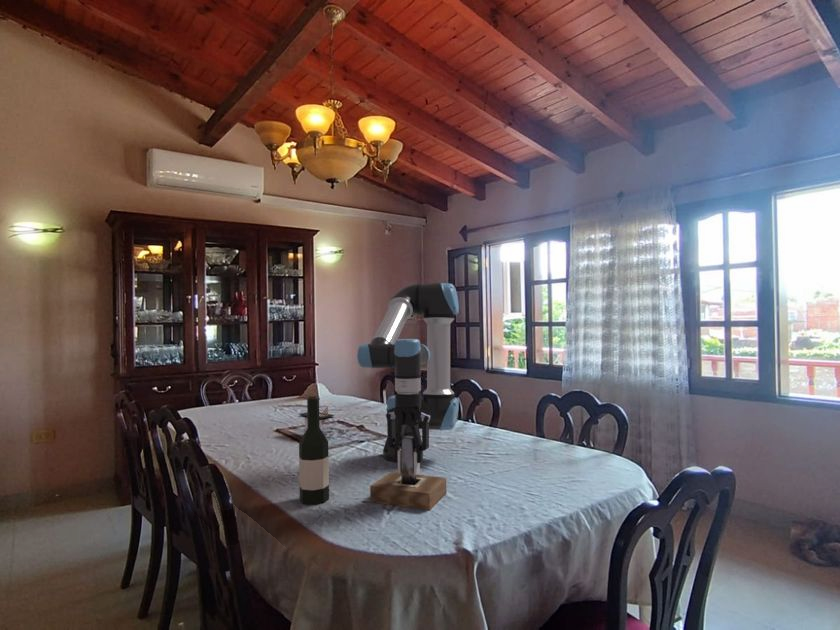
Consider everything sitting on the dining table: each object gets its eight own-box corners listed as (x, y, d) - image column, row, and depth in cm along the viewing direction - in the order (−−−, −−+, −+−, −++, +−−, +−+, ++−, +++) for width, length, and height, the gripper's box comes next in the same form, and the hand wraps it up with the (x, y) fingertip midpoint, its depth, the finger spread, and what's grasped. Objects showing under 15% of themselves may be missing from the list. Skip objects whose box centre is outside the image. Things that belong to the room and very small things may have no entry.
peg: (399, 487, 146) (398, 438, 146) (405, 482, 150) (404, 435, 150) (413, 489, 145) (412, 439, 145) (418, 484, 149) (418, 436, 149)
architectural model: (367, 437, 223) (367, 405, 223) (316, 451, 202) (316, 415, 202) (316, 427, 245) (316, 397, 245) (265, 438, 224) (265, 406, 224)
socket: (370, 501, 144) (370, 485, 144) (391, 486, 157) (391, 471, 157) (429, 510, 138) (429, 492, 138) (446, 493, 151) (446, 477, 151)
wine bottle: (301, 495, 150) (300, 393, 151) (330, 494, 151) (329, 393, 151) (297, 505, 142) (296, 398, 142) (327, 504, 143) (326, 397, 143)
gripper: (375, 392, 147) (376, 473, 147) (431, 395, 141) (432, 480, 141) (386, 389, 154) (387, 466, 154) (440, 391, 148) (441, 472, 148)
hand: (408, 472), depth 148 cm, fingers closed on peg, 4 cm apart
